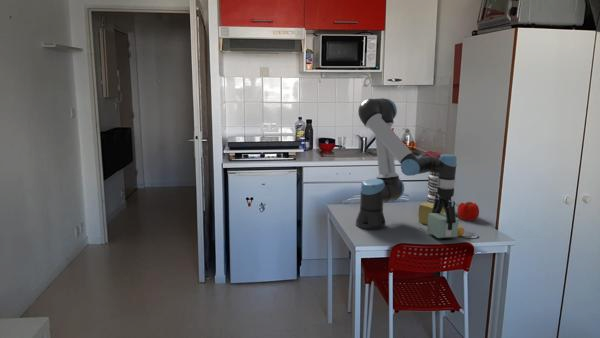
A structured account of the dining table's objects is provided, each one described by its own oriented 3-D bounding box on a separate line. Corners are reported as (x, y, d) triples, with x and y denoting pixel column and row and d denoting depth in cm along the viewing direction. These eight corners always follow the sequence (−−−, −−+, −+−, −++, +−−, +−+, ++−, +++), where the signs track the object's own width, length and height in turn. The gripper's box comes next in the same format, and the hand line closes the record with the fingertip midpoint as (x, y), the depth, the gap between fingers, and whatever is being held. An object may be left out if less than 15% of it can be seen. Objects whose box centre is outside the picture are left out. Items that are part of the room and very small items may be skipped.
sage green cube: (437, 237, 211) (439, 219, 209) (427, 230, 221) (428, 213, 219) (457, 236, 213) (459, 218, 211) (446, 229, 223) (447, 212, 221)
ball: (463, 225, 216) (467, 233, 217) (457, 222, 221) (462, 230, 222) (454, 231, 216) (459, 239, 217) (449, 228, 220) (454, 236, 222)
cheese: (427, 218, 246) (429, 200, 244) (445, 223, 239) (447, 205, 237) (417, 222, 239) (418, 204, 237) (435, 227, 232) (437, 208, 230)
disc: (464, 239, 215) (464, 239, 215) (453, 232, 224) (453, 232, 224) (483, 238, 217) (483, 237, 217) (471, 231, 226) (471, 231, 226)
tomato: (465, 215, 254) (467, 199, 253) (482, 221, 244) (484, 204, 242) (451, 217, 250) (453, 201, 248) (468, 223, 239) (470, 207, 237)
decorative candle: (428, 211, 259) (432, 168, 254) (423, 207, 268) (426, 165, 263) (444, 211, 260) (448, 169, 255) (438, 207, 269) (442, 166, 264)
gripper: (466, 192, 202) (462, 239, 207) (440, 181, 224) (437, 224, 229) (451, 193, 201) (447, 240, 205) (426, 182, 223) (423, 225, 227)
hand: (442, 232), depth 217 cm, fingers closed on sage green cube, 10 cm apart
